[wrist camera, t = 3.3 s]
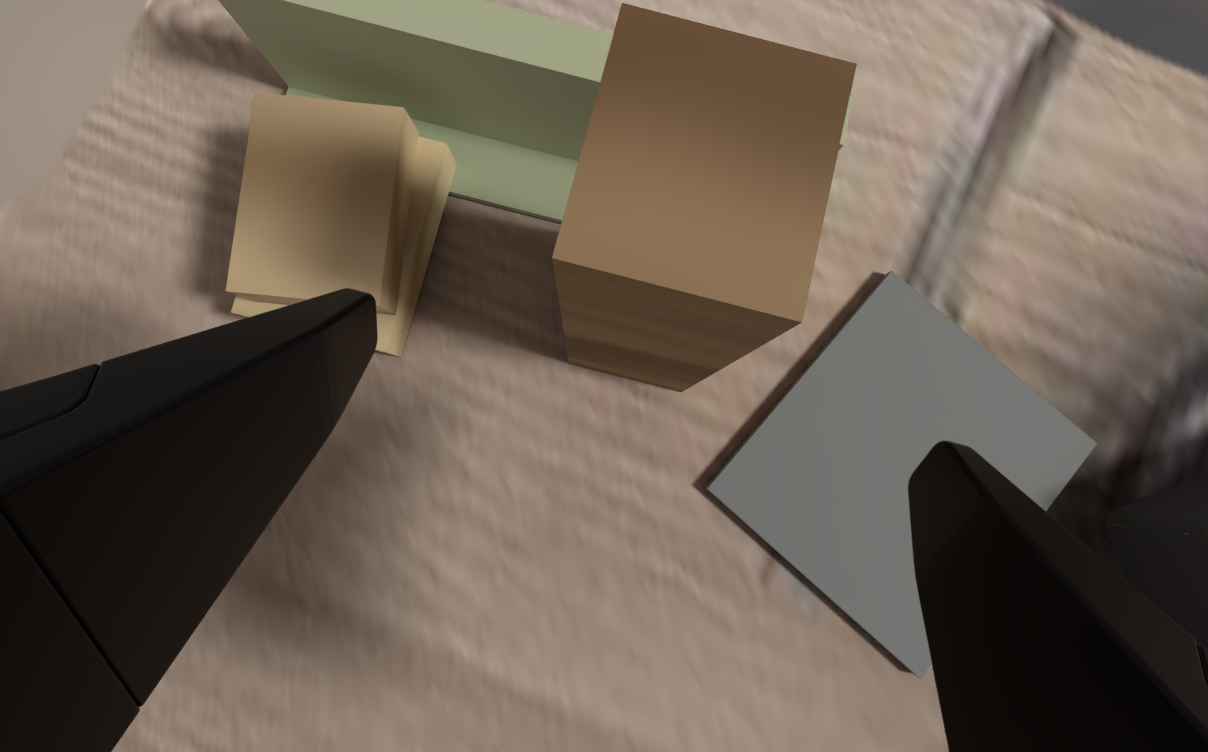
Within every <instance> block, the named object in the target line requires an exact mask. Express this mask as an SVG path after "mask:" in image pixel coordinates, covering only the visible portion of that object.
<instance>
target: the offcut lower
mask: <svg viewBox="0 0 1208 752" xmlns="http://www.w3.org/2000/svg"><path fill="white" fill-rule="evenodd" d="M456 165H457V163H456V161H455V159H454V157H453V155H452V153H451V151H450V149H449V148H448V146H447V144H446V143H443V142H439V141H435V140H432V139H428V138H424V137H420V136H418V142H417V150H416V159H415V167H414V175H413V183H412V191H411V199H410V207H409V215H408V224H407V232H406V240H405V248H404V256H403V264H402V272H401V280H400V288H399V297H398V305H397V313H396V315H387V314H377V333H378V340H377V346H376V349H375V351H378V352H382V353H386V354H390V355H394V356H398V357H402V354H403V350H404V347H405V343H406V340H407V336H408V333H409V329H410V326H411V322H412V319H413V315H414V312H415V308H416V305H417V301H418V298H419V294H420V291H421V287H422V284H423V280H424V277H425V273H426V270H427V266H428V263H429V259H430V256H431V252H432V249H433V245H434V242H435V238H436V235H437V231H438V228H439V225H440V221H441V218H442V214H443V211H444V207H445V204H446V200H447V197H448V193H449V190H450V186H451V183H452V179H453V176H454V172H455V169H456ZM284 306H288V305H283V304H273V303H262V302H255V301H252V300H249V299H246V298H243V297H240V296H238V295H236V297H235V300H234V303H233V307H232V310H231V313H235V314H238V315H241V316H245V317H251V316H255V315H258V314H261V313H265V312H268V311H271V310H274V309H278V308H281V307H284Z"/></svg>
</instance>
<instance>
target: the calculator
mask: <svg viewBox="0 0 1208 752" xmlns="http://www.w3.org/2000/svg"><path fill="white" fill-rule="evenodd" d="M1104 526H1105V530H1106V532H1107V534H1108V537H1109V539H1110V541H1111V544H1112V546H1113V548H1114V550H1115V553H1116V555H1117V557H1118V559H1119V562H1120V564H1121V566H1122V568H1123V571H1124V573H1125V575H1126V577H1127V580H1128V582H1129V583H1130V584H1131V585H1133V586H1134V587H1135V588H1136V589H1137V590H1138V591H1140V592H1141V593H1142V594H1143V595H1144V596H1145V597H1147V598H1148V599H1149V600H1150V601H1151V602H1152V603H1154V604H1155V605H1156V606H1157V607H1158V608H1159V609H1161V610H1162V611H1163V612H1164V613H1165V614H1166V615H1168V616H1169V617H1170V618H1171V619H1172V620H1173V621H1175V622H1176V623H1177V624H1178V625H1179V626H1181V627H1182V628H1183V629H1184V630H1185V631H1186V632H1188V633H1189V634H1190V635H1191V636H1192V637H1193V638H1194V639H1195V640H1196V643H1197V644H1201V645H1203V646H1204V647H1205V648H1206V649H1208V473H1207V474H1204V475H1201V476H1198V477H1195V478H1193V479H1190V480H1188V481H1185V482H1183V483H1180V484H1178V485H1175V486H1173V487H1170V488H1168V489H1165V490H1163V491H1160V492H1158V493H1155V494H1153V495H1150V496H1148V497H1145V498H1143V499H1140V500H1138V501H1135V502H1133V503H1130V504H1128V505H1125V506H1123V507H1120V508H1118V509H1115V510H1113V511H1111V512H1109V513H1108V514H1107V515H1106V517H1105V520H1104Z"/></svg>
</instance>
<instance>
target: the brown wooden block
mask: <svg viewBox="0 0 1208 752" xmlns="http://www.w3.org/2000/svg"><path fill="white" fill-rule="evenodd" d="M855 69H856V64H855V63H851V62H847V61H844V60H840V59H836V58H832V57H828V56H824V55H820V54H817V53H813V52H809V51H805V50H801V49H797V48H794V47H790V46H786V45H782V44H778V43H774V42H770V41H767V40H763V39H759V38H755V37H751V36H747V35H743V34H740V33H736V32H732V31H728V30H724V29H720V28H716V27H713V26H709V25H705V24H701V23H697V22H693V21H689V20H686V19H682V18H678V17H674V16H670V15H666V14H663V13H659V12H655V11H651V10H647V9H643V8H639V7H636V6H632V5H628V4H624V3H622V5H621V9H620V12H619V16H618V20H617V23H616V27H615V30H614V34H613V38H612V41H611V45H610V49H609V52H608V56H607V59H606V63H605V67H604V70H603V74H602V78H601V81H600V85H599V89H598V92H597V96H596V99H595V103H594V107H593V110H592V114H591V118H590V121H589V125H588V128H587V132H586V136H585V139H584V143H583V147H582V150H581V154H580V158H579V161H578V165H577V168H576V172H575V176H574V179H573V183H572V187H571V190H570V194H569V197H568V201H567V205H566V208H565V212H564V216H563V219H562V223H561V226H560V230H559V234H558V237H557V241H556V245H555V248H554V252H553V256H552V262H553V269H554V275H555V281H556V288H557V294H558V300H559V307H560V313H561V319H562V326H563V332H564V338H565V345H566V351H567V358H568V363H570V364H574V365H578V366H582V367H585V368H589V369H593V370H597V371H601V372H605V373H609V374H613V375H617V376H621V377H624V378H628V379H632V380H636V381H640V382H644V383H648V384H652V385H656V386H660V387H663V388H667V389H671V390H675V391H679V392H683V391H684V390H686V389H688V388H690V387H691V386H693V385H695V384H696V383H698V382H700V381H702V380H703V379H705V378H707V377H709V376H710V375H712V374H714V373H715V372H717V371H719V370H721V369H722V368H724V367H726V366H727V365H729V364H731V363H733V362H734V361H736V360H738V359H740V358H741V357H743V356H745V355H746V354H748V353H750V352H752V351H753V350H755V349H757V348H758V347H760V346H762V345H764V344H765V343H767V342H769V341H771V340H772V339H774V338H776V337H777V336H779V335H781V334H783V333H784V332H786V331H788V330H789V329H791V328H793V327H795V326H796V325H798V324H800V323H802V319H803V315H804V310H805V305H806V301H807V296H808V291H809V286H810V282H811V277H812V272H813V268H814V263H815V258H816V253H817V249H818V244H819V239H820V234H821V230H822V225H823V220H824V216H825V211H826V206H827V201H828V197H829V192H830V187H831V182H832V178H833V173H834V168H835V164H836V159H837V154H838V149H839V145H840V140H841V135H842V131H843V126H844V121H845V116H846V112H847V107H848V102H849V97H850V93H851V88H852V83H853V79H854V74H855Z"/></svg>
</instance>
